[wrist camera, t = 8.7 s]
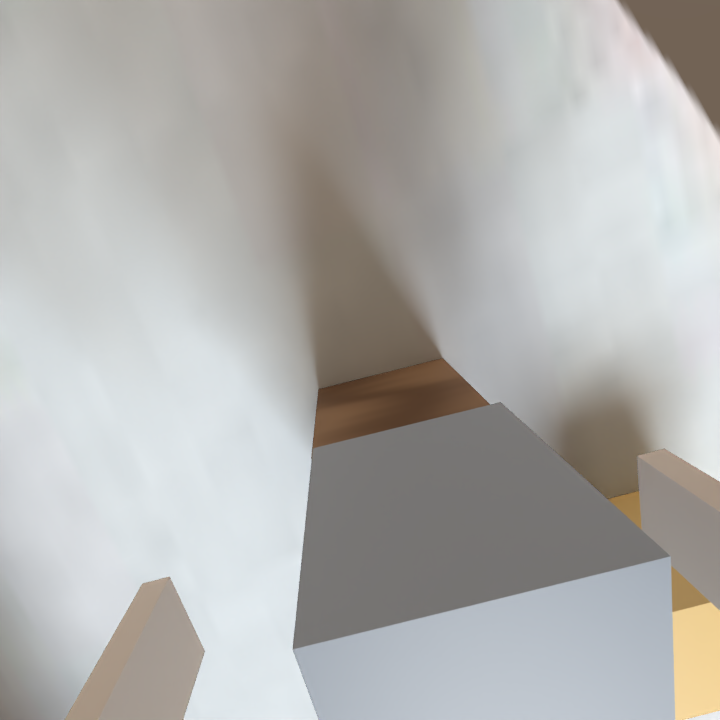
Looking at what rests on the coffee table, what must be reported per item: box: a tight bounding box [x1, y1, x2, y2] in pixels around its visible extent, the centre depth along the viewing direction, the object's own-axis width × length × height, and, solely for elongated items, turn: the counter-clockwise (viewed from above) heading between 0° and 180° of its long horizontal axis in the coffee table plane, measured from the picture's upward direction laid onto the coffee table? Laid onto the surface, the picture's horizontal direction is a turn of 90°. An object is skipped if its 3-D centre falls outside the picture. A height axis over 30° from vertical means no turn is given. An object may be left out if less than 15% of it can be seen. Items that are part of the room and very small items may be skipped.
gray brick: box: [293, 402, 675, 720], centre depth 9 cm, size 6×6×6 cm
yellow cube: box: [608, 491, 720, 720], centre depth 18 cm, size 6×6×6 cm
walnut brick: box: [311, 358, 490, 459], centre depth 15 cm, size 6×6×6 cm
